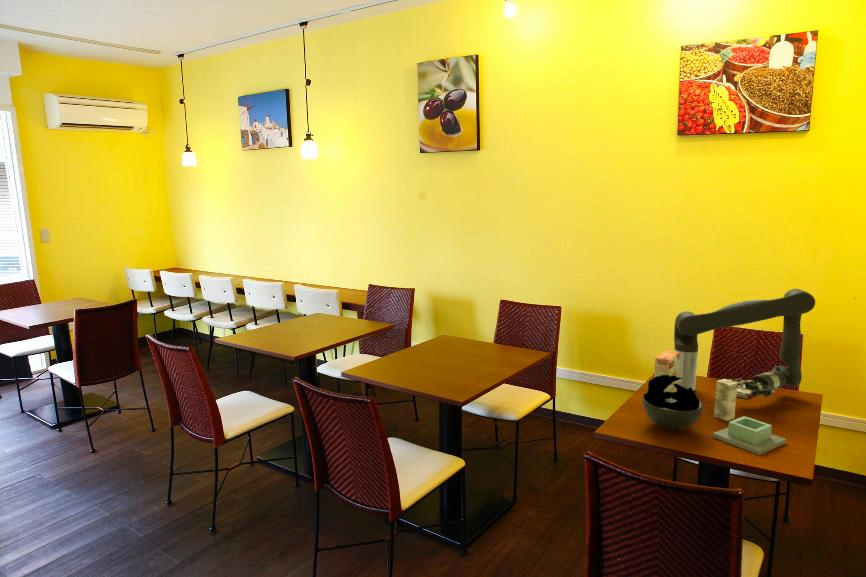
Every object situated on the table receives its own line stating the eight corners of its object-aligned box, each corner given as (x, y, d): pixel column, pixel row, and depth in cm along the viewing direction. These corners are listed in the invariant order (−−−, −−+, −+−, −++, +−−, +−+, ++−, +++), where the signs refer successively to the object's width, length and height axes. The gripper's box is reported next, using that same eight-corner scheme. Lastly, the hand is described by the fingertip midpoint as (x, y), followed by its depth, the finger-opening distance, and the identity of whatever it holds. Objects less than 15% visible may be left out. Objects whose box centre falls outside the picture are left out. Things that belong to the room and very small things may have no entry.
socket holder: (712, 437, 197) (714, 420, 196) (738, 427, 205) (740, 411, 204) (759, 455, 184) (761, 437, 183) (785, 443, 192) (787, 426, 191)
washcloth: (716, 394, 240) (717, 387, 240) (727, 383, 254) (728, 376, 253) (748, 400, 233) (748, 393, 232) (757, 389, 246) (758, 382, 246)
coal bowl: (651, 412, 219) (654, 365, 216) (707, 425, 207) (711, 376, 203) (632, 429, 204) (635, 378, 201) (691, 444, 191) (695, 391, 188)
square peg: (713, 416, 215) (716, 381, 213) (721, 414, 217) (724, 378, 215) (726, 421, 211) (729, 384, 208) (734, 418, 213) (737, 382, 211)
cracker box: (667, 412, 219) (670, 359, 216) (650, 408, 223) (654, 357, 219) (676, 401, 230) (680, 351, 227) (661, 398, 234) (664, 349, 230)
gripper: (747, 369, 232) (724, 376, 224) (784, 378, 220) (761, 386, 212) (746, 387, 233) (723, 394, 225) (782, 397, 221) (759, 405, 213)
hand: (741, 390), depth 218 cm, fingers open, 8 cm apart
